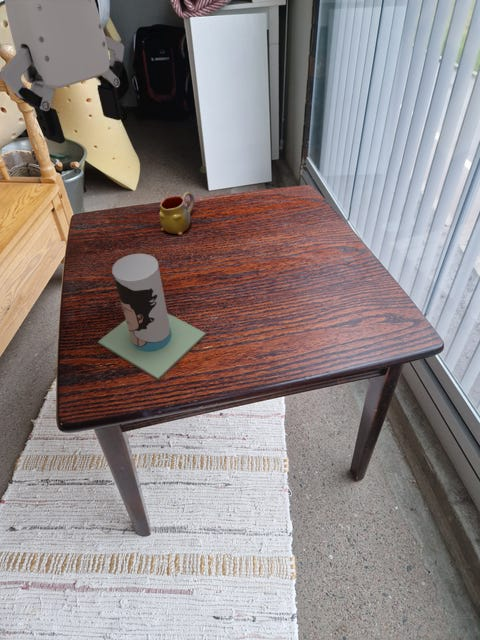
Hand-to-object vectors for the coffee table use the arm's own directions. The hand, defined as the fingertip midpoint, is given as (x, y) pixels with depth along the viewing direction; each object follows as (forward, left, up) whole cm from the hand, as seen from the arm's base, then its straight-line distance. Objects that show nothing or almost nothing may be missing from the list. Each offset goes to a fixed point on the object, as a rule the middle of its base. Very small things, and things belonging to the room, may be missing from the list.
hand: (86, 128), depth 56 cm
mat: (-4, -9, -32) cm, 34 cm away
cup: (-4, -9, -32) cm, 33 cm away
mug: (+28, +12, -32) cm, 45 cm away
